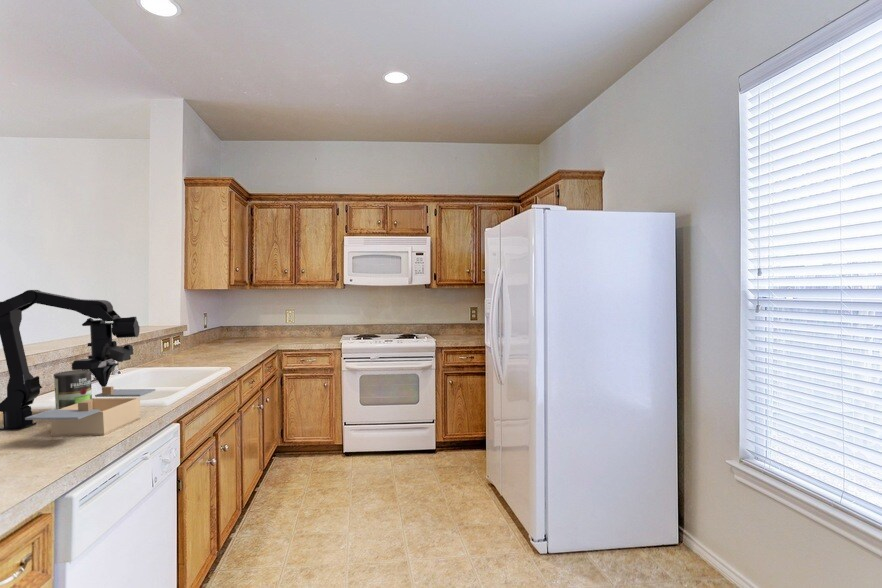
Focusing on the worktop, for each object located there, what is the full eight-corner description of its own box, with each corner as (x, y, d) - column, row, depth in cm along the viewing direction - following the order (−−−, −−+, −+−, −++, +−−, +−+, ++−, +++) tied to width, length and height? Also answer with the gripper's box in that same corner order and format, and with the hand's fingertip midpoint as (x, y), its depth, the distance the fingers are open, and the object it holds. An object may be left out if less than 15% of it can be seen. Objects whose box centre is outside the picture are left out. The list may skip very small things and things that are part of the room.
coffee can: (100, 410, 169) (98, 370, 168) (68, 418, 159) (66, 376, 159) (80, 407, 172) (78, 368, 172) (48, 415, 163) (46, 374, 162)
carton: (51, 435, 141) (50, 412, 141) (93, 419, 157) (92, 398, 157) (104, 435, 141) (103, 411, 140) (140, 419, 156) (139, 397, 156)
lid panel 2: (95, 396, 158) (94, 387, 158) (112, 391, 165) (112, 382, 165) (140, 396, 157) (139, 387, 157) (155, 390, 165) (154, 382, 165)
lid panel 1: (25, 419, 132) (24, 409, 132) (49, 411, 140) (49, 401, 140) (78, 419, 132) (77, 408, 132) (99, 411, 140) (99, 401, 139)
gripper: (104, 342, 146) (106, 393, 147) (144, 335, 165) (146, 380, 166) (69, 343, 147) (71, 393, 147) (113, 335, 166) (115, 380, 166)
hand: (104, 386), depth 157 cm, fingers closed
